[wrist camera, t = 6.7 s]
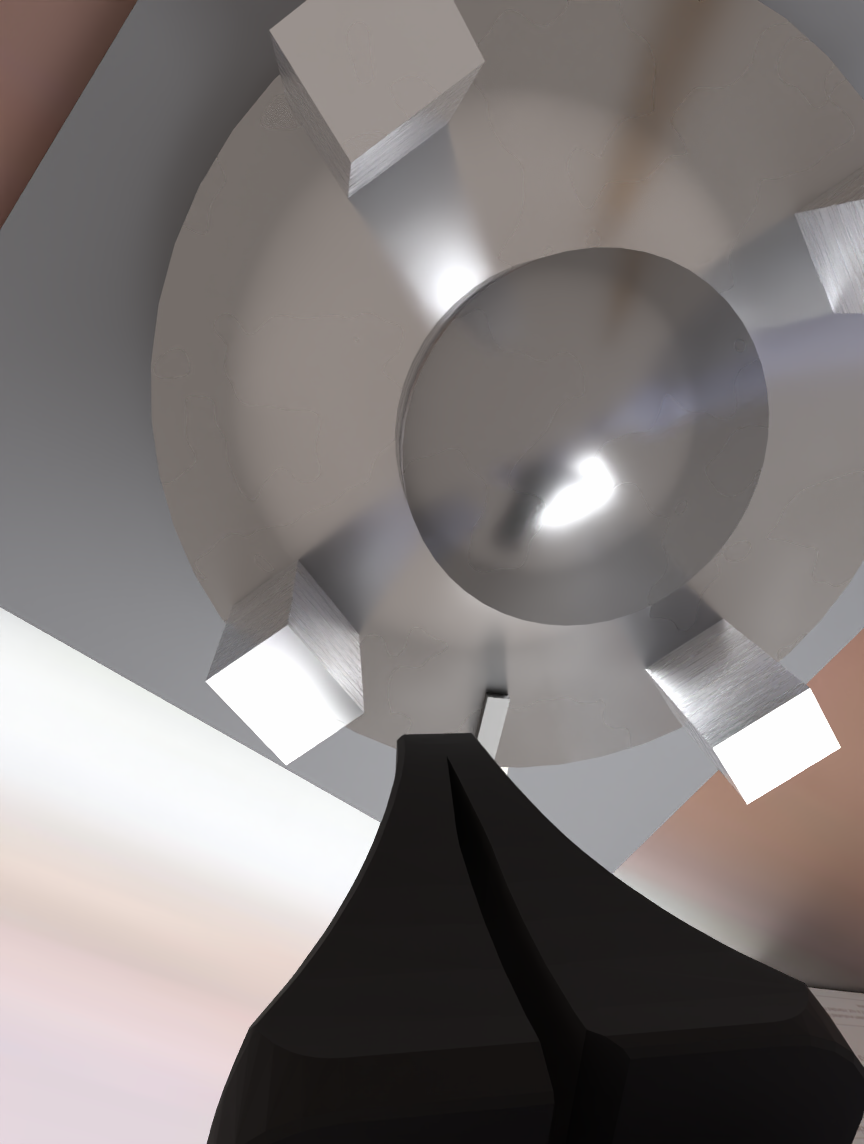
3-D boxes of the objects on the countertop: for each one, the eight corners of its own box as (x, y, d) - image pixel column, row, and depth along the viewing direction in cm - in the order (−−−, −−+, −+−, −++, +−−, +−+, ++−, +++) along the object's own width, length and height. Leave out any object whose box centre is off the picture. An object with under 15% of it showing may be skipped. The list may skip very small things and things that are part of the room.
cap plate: (483, -510, 11) (502, -620, 9) (1091, 350, 17) (1152, 353, 16) (-131, 496, 15) (-175, 513, 13) (548, 891, 21) (561, 928, 20)
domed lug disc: (707, -239, 11) (911, -540, 7) (970, 506, 16) (1168, 568, 12) (-14, 325, 12) (-174, 331, 9) (444, 839, 18) (473, 987, 14)
